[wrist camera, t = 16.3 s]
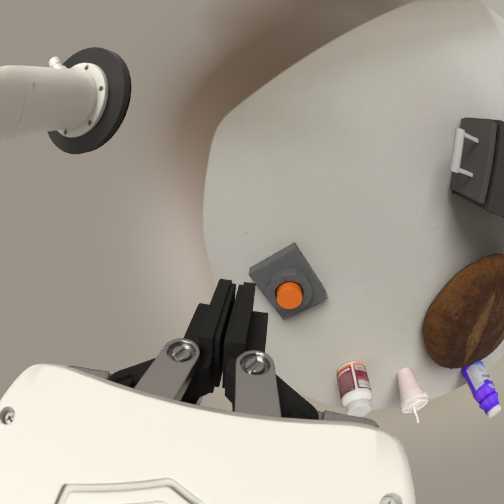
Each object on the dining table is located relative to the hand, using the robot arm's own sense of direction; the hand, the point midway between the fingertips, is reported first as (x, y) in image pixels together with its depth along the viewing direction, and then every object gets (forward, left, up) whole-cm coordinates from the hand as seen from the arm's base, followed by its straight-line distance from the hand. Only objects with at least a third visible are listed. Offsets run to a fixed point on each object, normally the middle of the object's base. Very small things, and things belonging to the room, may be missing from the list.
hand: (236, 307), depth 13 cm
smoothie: (+50, +5, -27) cm, 57 cm away
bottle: (+64, +23, -27) cm, 73 cm away
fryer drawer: (+13, +32, -26) cm, 43 cm away
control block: (+14, -5, -27) cm, 31 cm away
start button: (+14, -5, -24) cm, 28 cm away
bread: (+42, +25, -27) cm, 56 cm away
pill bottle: (+40, -5, -27) cm, 49 cm away
